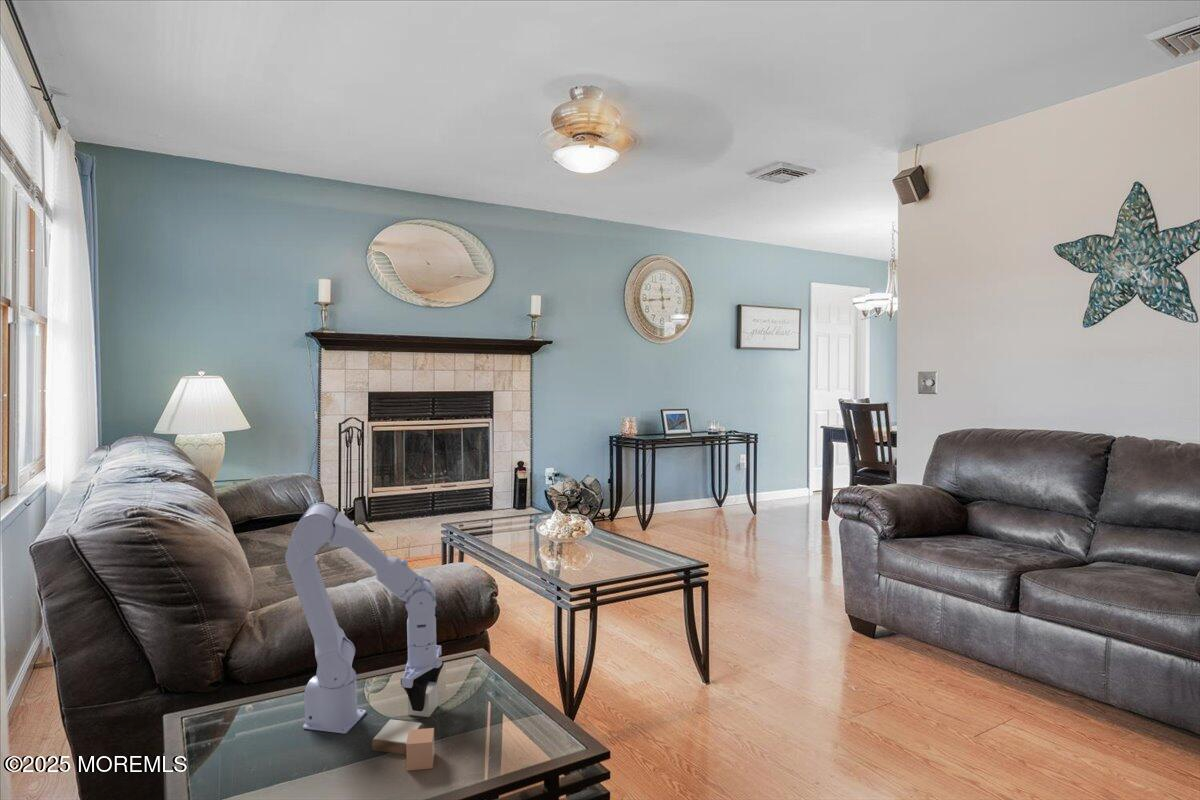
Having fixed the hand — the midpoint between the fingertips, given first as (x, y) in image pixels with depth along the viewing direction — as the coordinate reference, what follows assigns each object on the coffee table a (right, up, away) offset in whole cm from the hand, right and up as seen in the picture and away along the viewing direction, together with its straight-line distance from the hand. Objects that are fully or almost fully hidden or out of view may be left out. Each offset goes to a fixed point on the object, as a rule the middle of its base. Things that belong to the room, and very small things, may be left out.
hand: (423, 703), depth 145 cm
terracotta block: (+4, -3, -17) cm, 18 cm away
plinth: (-2, -3, -11) cm, 11 cm away
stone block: (0, -1, 0) cm, 1 cm away
